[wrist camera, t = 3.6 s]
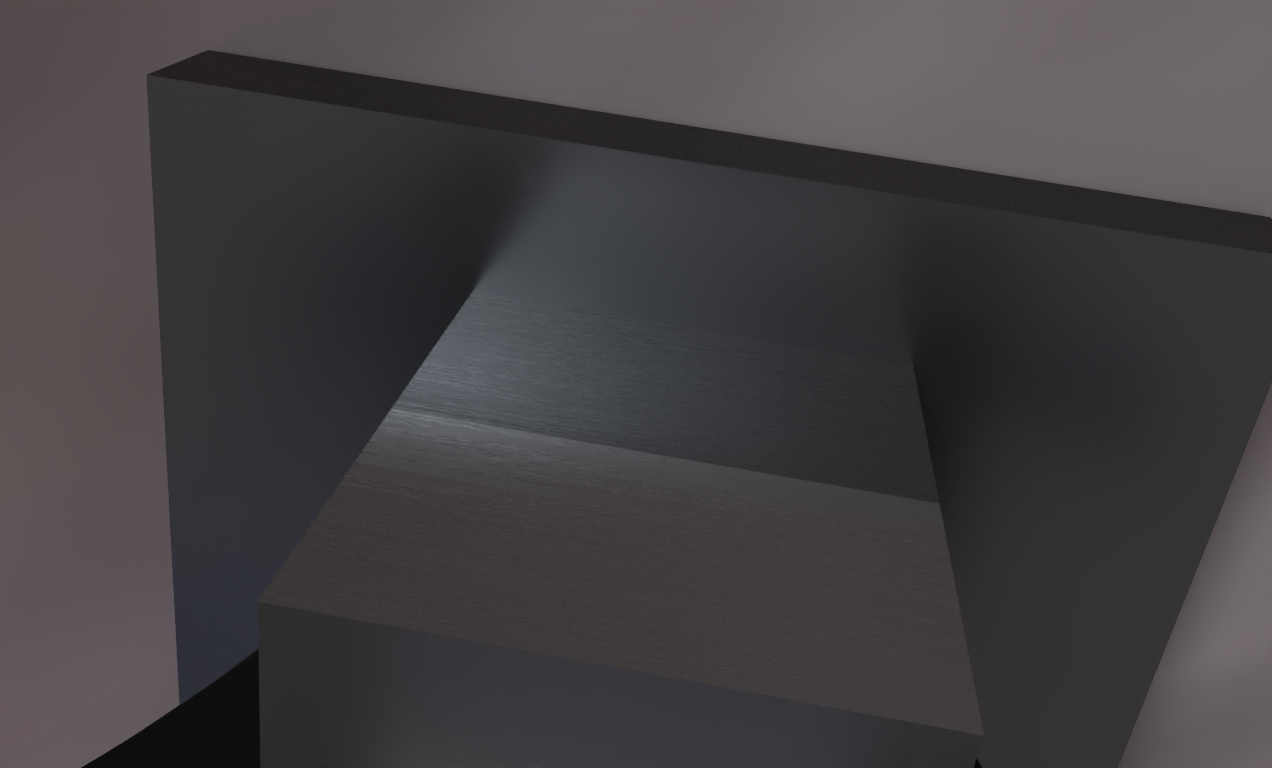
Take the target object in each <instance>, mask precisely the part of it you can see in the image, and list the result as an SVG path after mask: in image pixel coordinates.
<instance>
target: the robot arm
mask: <svg viewBox="0 0 1272 768" xmlns="http://www.w3.org/2000/svg"><path fill="white" fill-rule="evenodd" d="M81 768H260V708H259V648H258V649H257V650H256V651H254V652H253V653H252V654H250V655H249V656H248V657H246V658H245V659H244V660H242V661H241V662H240V663H238V664H237V665H236V666H234V667H233V668H232V669H230V670H229V671H228V672H226V673H225V674H224V675H222V676H221V677H220V678H218V679H217V680H215V681H214V682H213V683H211V684H210V685H208V686H207V687H206V688H204V689H203V690H201V691H200V692H198V693H197V694H195V695H194V696H192V697H191V698H189V699H188V700H186V701H185V702H183V703H182V704H180V705H179V706H177V707H176V708H174V709H173V710H171V711H170V712H168V713H167V714H165V715H164V716H163V717H161V718H160V719H158V720H157V721H155V722H154V723H152V724H151V725H149V726H148V727H146V728H145V729H143V730H142V731H140V732H139V733H137V734H136V735H134V736H132V737H131V738H129V739H128V740H126V741H124V742H123V743H121V744H120V745H118V746H116V747H115V748H113V749H111V750H110V751H108V752H107V753H105V754H103V755H102V756H100V757H98V758H97V759H95V760H93V761H92V762H90V763H88V764H86V765H85V766H83V767H81ZM974 768H983V767H982V766H981V764H980V762H979V760H978V759H976V762H975V765H974Z"/></svg>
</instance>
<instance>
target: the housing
mask: <svg viewBox="0 0 1272 768" xmlns="http://www.w3.org/2000/svg"><path fill="white" fill-rule="evenodd" d="M258 642H259V708H260V768H974V765H975V762H976V759H977V756H978V753H979V750H980V747H981V744H982V741H983V738H984V732H983V727H982V722H981V717H980V711H979V706H978V701H977V696H976V691H975V685H974V680H973V675H972V670H971V664H970V659H969V654H968V649H967V644H966V638H965V633H964V628H963V623H962V618H961V612H960V607H959V602H958V597H957V592H956V586H955V581H954V576H953V571H952V566H951V560H950V555H949V550H948V545H947V540H946V534H945V529H944V524H943V519H942V514H941V508H940V503H939V498H938V493H937V487H936V482H935V477H934V472H933V467H932V461H931V456H930V451H929V446H928V441H927V435H926V430H925V425H924V420H923V415H922V409H921V404H920V399H919V394H918V389H917V383H916V378H915V373H914V368H913V365H912V364H906V363H900V362H894V361H888V360H882V359H876V358H870V357H864V356H858V355H852V354H846V353H840V352H834V351H828V350H822V349H816V348H810V347H805V346H799V345H793V344H787V343H781V342H775V341H769V340H763V339H757V338H751V337H745V336H739V335H733V334H727V333H721V332H715V331H709V330H703V329H697V328H691V327H685V326H679V325H673V324H667V323H661V322H655V321H649V320H643V319H637V318H631V317H625V316H619V315H613V314H607V313H601V312H595V311H589V310H583V309H577V308H571V307H565V306H559V305H553V304H547V303H541V302H535V301H529V300H523V299H518V298H512V297H506V296H500V295H494V294H488V293H482V292H476V291H473V292H472V293H471V295H470V296H469V297H468V299H467V300H466V302H465V303H464V305H463V306H462V308H461V309H460V310H459V312H458V313H457V315H456V316H455V318H454V319H453V321H452V322H451V323H450V325H449V326H448V328H447V329H446V331H445V332H444V334H443V335H442V336H441V338H440V339H439V341H438V342H437V344H436V345H435V347H434V348H433V349H432V351H431V352H430V354H429V355H428V357H427V358H426V360H425V361H424V362H423V364H422V365H421V367H420V368H419V370H418V371H417V373H416V374H415V375H414V377H413V378H412V380H411V381H410V383H409V384H408V386H407V387H406V388H405V390H404V391H403V393H402V394H401V396H400V397H399V399H398V400H397V401H396V403H395V404H394V406H393V407H392V409H391V410H390V412H389V413H388V414H387V416H386V417H385V419H384V420H383V422H382V423H381V425H380V426H379V427H378V429H377V430H376V432H375V433H374V435H373V436H372V437H371V439H370V440H369V442H368V443H367V445H366V446H365V448H364V449H363V450H362V452H361V453H360V455H359V456H358V458H357V459H356V461H355V462H354V463H353V465H352V466H351V468H350V469H349V471H348V472H347V474H346V475H345V476H344V478H343V479H342V481H341V482H340V484H339V485H338V487H337V488H336V489H335V491H334V492H333V494H332V495H331V497H330V498H329V500H328V501H327V502H326V504H325V505H324V507H323V508H322V510H321V511H320V513H319V514H318V515H317V517H316V518H315V520H314V521H313V523H312V524H311V526H310V527H309V528H308V530H307V531H306V533H305V534H304V536H303V537H302V539H301V540H300V541H299V543H298V544H297V546H296V547H295V549H294V550H293V552H292V553H291V554H290V556H289V557H288V559H287V560H286V562H285V563H284V565H283V566H282V567H281V569H280V570H279V572H278V573H277V575H276V576H275V577H274V579H273V580H272V582H271V583H270V585H269V586H268V588H267V589H266V590H265V592H264V593H263V595H262V596H261V598H260V599H259V601H258Z"/></svg>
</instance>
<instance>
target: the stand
mask: <svg viewBox="0 0 1272 768" xmlns="http://www.w3.org/2000/svg"><path fill="white" fill-rule="evenodd" d="M147 91H148V110H149V129H150V148H151V167H152V186H153V205H154V224H155V243H156V262H157V281H158V300H159V319H160V338H161V357H162V376H163V395H164V414H165V433H166V452H167V471H168V490H169V509H170V528H171V547H172V566H173V585H174V604H175V624H176V643H177V662H178V681H179V700H180V704H182V703H183V702H185V701H186V700H188V699H189V698H191V697H192V696H194V695H195V694H197V693H198V692H200V691H201V690H203V689H204V688H206V687H207V686H208V685H210V684H211V683H213V682H214V681H215V680H217V679H218V678H220V677H221V676H222V675H224V674H225V673H226V672H228V671H229V670H230V669H232V668H233V667H234V666H236V665H237V664H238V663H240V662H241V661H242V660H244V659H245V658H246V657H248V656H249V655H250V654H252V653H253V652H254V651H256V650H257V649H258V648H259V642H258V601H259V599H260V598H261V596H262V595H263V593H264V592H265V590H266V589H267V588H268V586H269V585H270V583H271V582H272V580H273V579H274V577H275V576H276V575H277V573H278V572H279V570H280V569H281V567H282V566H283V565H284V563H285V562H286V560H287V559H288V557H289V556H290V554H291V553H292V552H293V550H294V549H295V547H296V546H297V544H298V543H299V541H300V540H301V539H302V537H303V536H304V534H305V533H306V531H307V530H308V528H309V527H310V526H311V524H312V523H313V521H314V520H315V518H316V517H317V515H318V514H319V513H320V511H321V510H322V508H323V507H324V505H325V504H326V502H327V501H328V500H329V498H330V497H331V495H332V494H333V492H334V491H335V489H336V488H337V487H338V485H339V484H340V482H341V481H342V479H343V478H344V476H345V475H346V474H347V472H348V471H349V469H350V468H351V466H352V465H353V463H354V462H355V461H356V459H357V458H358V456H359V455H360V453H361V452H362V450H363V449H364V448H365V446H366V445H367V443H368V442H369V440H370V439H371V437H372V436H373V435H374V433H375V432H376V430H377V429H378V427H379V426H380V425H381V423H382V422H383V420H384V419H385V417H386V416H387V414H388V413H389V412H390V410H391V409H392V407H393V406H394V404H395V403H396V401H397V400H398V399H399V397H400V396H401V394H402V393H403V391H404V390H405V388H406V387H407V386H408V384H409V383H410V381H411V380H412V378H413V377H414V375H415V374H416V373H417V371H418V370H419V368H420V367H421V365H422V364H423V362H424V361H425V360H426V358H427V357H428V355H429V354H430V352H431V351H432V349H433V348H434V347H435V345H436V344H437V342H438V341H439V339H440V338H441V336H442V335H443V334H444V332H445V331H446V329H447V328H448V326H449V325H450V323H451V322H452V321H453V319H454V318H455V316H456V315H457V313H458V312H459V310H460V309H461V308H462V306H463V305H464V303H465V302H466V300H467V299H468V297H469V296H470V295H471V293H472V292H473V291H476V292H482V293H488V294H494V295H500V296H506V297H512V298H518V299H523V300H529V301H535V302H541V303H547V304H553V305H559V306H565V307H571V308H577V309H583V310H589V311H595V312H601V313H607V314H613V315H619V316H625V317H631V318H637V319H643V320H649V321H655V322H661V323H667V324H673V325H679V326H685V327H691V328H697V329H703V330H709V331H715V332H721V333H727V334H733V335H739V336H745V337H751V338H757V339H763V340H769V341H775V342H781V343H787V344H793V345H799V346H805V347H810V348H816V349H822V350H828V351H834V352H840V353H846V354H852V355H858V356H864V357H870V358H876V359H882V360H888V361H894V362H900V363H906V364H912V365H913V368H914V373H915V378H916V383H917V389H918V394H919V399H920V404H921V409H922V415H923V420H924V425H925V430H926V435H927V441H928V446H929V451H930V456H931V461H932V467H933V472H934V477H935V482H936V487H937V493H938V498H939V503H940V508H941V514H942V519H943V524H944V529H945V534H946V540H947V545H948V550H949V555H950V560H951V566H952V571H953V576H954V581H955V586H956V592H957V597H958V602H959V607H960V612H961V618H962V623H963V628H964V633H965V638H966V644H967V649H968V654H969V659H970V664H971V670H972V675H973V680H974V685H975V691H976V696H977V701H978V706H979V711H980V717H981V722H982V727H983V732H984V738H983V741H982V744H981V747H980V750H979V753H978V756H977V759H978V760H979V762H980V764H981V766H982V767H983V768H1117V767H1118V765H1119V762H1120V760H1121V757H1122V755H1123V752H1124V750H1125V747H1126V745H1127V742H1128V740H1129V737H1130V735H1131V732H1132V730H1133V727H1134V725H1135V722H1136V720H1137V717H1138V715H1139V712H1140V710H1141V707H1142V705H1143V702H1144V700H1145V697H1146V695H1147V692H1148V690H1149V687H1150V685H1151V682H1152V680H1153V677H1154V675H1155V672H1156V670H1157V667H1158V665H1159V662H1160V660H1161V657H1162V655H1163V652H1164V650H1165V647H1166V645H1167V642H1168V640H1169V637H1170V635H1171V632H1172V630H1173V627H1174V625H1175V622H1176V620H1177V617H1178V615H1179V612H1180V610H1181V607H1182V605H1183V602H1184V600H1185V597H1186V595H1187V592H1188V590H1189V587H1190V585H1191V582H1192V580H1193V577H1194V575H1195V572H1196V570H1197V567H1198V565H1199V562H1200V560H1201V557H1202V555H1203V552H1204V550H1205V547H1206V545H1207V542H1208V540H1209V537H1210V535H1211V532H1212V530H1213V527H1214V525H1215V522H1216V520H1217V517H1218V515H1219V512H1220V510H1221V507H1222V505H1223V502H1224V500H1225V498H1226V495H1227V493H1228V490H1229V488H1230V485H1231V483H1232V480H1233V478H1234V475H1235V473H1236V470H1237V468H1238V465H1239V463H1240V460H1241V458H1242V455H1243V453H1244V450H1245V448H1246V445H1247V443H1248V440H1249V438H1250V435H1251V433H1252V430H1253V428H1254V425H1255V423H1256V420H1257V418H1258V415H1259V413H1260V410H1261V408H1262V405H1263V403H1264V400H1265V398H1266V395H1267V393H1268V390H1269V388H1270V385H1271V383H1272V219H1271V218H1270V217H1265V216H1259V215H1252V214H1246V213H1240V212H1233V211H1227V210H1221V209H1214V208H1208V207H1201V206H1195V205H1189V204H1182V203H1176V202H1170V201H1163V200H1157V199H1151V198H1144V197H1138V196H1132V195H1125V194H1119V193H1112V192H1106V191H1100V190H1093V189H1087V188H1081V187H1074V186H1068V185H1062V184H1055V183H1049V182H1043V181H1036V180H1030V179H1023V178H1017V177H1011V176H1004V175H998V174H992V173H985V172H979V171H973V170H966V169H960V168H954V167H947V166H941V165H935V164H928V163H922V162H915V161H909V160H903V159H896V158H890V157H884V156H877V155H871V154H865V153H858V152H852V151H845V150H839V149H833V148H826V147H820V146H814V145H807V144H801V143H795V142H788V141H782V140H776V139H769V138H763V137H756V136H750V135H744V134H737V133H731V132H725V131H718V130H712V129H706V128H699V127H693V126H687V125H680V124H674V123H667V122H661V121H655V120H648V119H642V118H636V117H629V116H623V115H617V114H610V113H604V112H598V111H591V110H585V109H579V108H572V107H566V106H559V105H553V104H547V103H540V102H534V101H528V100H521V99H515V98H509V97H502V96H496V95H489V94H483V93H477V92H470V91H464V90H458V89H451V88H445V87H439V86H432V85H426V84H420V83H413V82H407V81H400V80H394V79H388V78H381V77H375V76H369V75H362V74H356V73H350V72H343V71H337V70H331V69H324V68H318V67H311V66H305V65H299V64H292V63H286V62H280V61H273V60H267V59H261V58H254V57H248V56H242V55H235V54H229V53H223V52H216V51H210V50H207V51H205V52H202V53H200V54H197V55H195V56H192V57H190V58H187V59H185V60H182V61H180V62H177V63H175V64H172V65H170V66H167V67H165V68H162V69H160V70H158V71H155V72H153V73H150V74H148V75H147Z"/></svg>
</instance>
